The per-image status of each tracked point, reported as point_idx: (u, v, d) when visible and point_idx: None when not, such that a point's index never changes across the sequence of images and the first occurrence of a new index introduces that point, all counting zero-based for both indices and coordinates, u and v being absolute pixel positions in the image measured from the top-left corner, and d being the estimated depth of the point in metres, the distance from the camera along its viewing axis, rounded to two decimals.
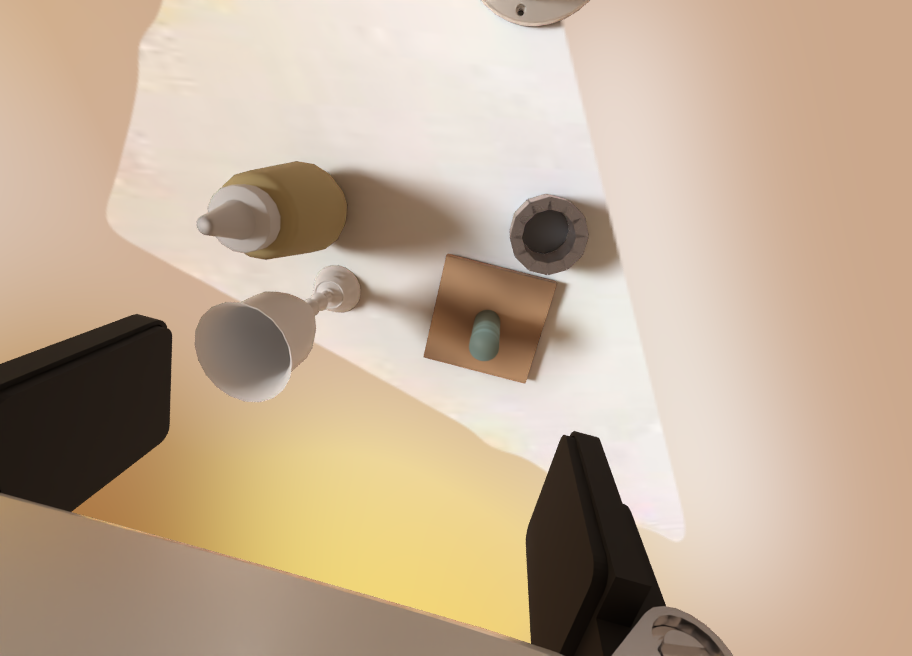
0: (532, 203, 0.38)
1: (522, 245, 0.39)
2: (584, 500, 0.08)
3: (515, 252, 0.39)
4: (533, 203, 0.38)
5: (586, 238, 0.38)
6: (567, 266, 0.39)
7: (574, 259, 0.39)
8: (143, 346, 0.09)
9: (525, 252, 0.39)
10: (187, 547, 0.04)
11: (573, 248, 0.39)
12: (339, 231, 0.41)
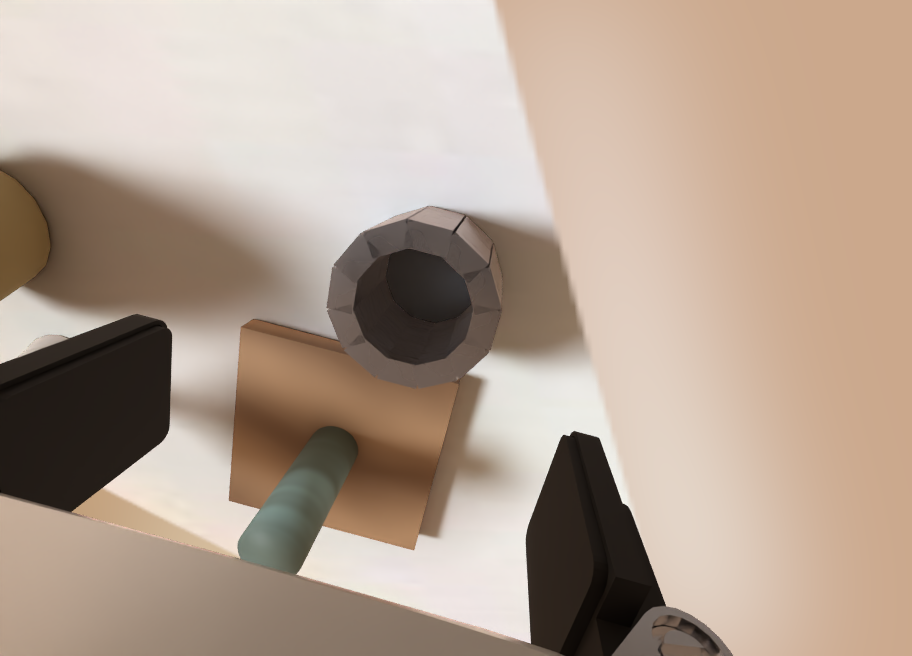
0: (367, 234, 0.16)
1: (356, 326, 0.17)
2: (584, 500, 0.08)
3: (343, 340, 0.18)
4: (369, 234, 0.16)
5: (496, 314, 0.17)
6: (458, 373, 0.18)
7: (472, 359, 0.17)
8: (143, 346, 0.09)
9: (364, 341, 0.18)
10: (187, 547, 0.04)
11: (469, 335, 0.17)
12: None
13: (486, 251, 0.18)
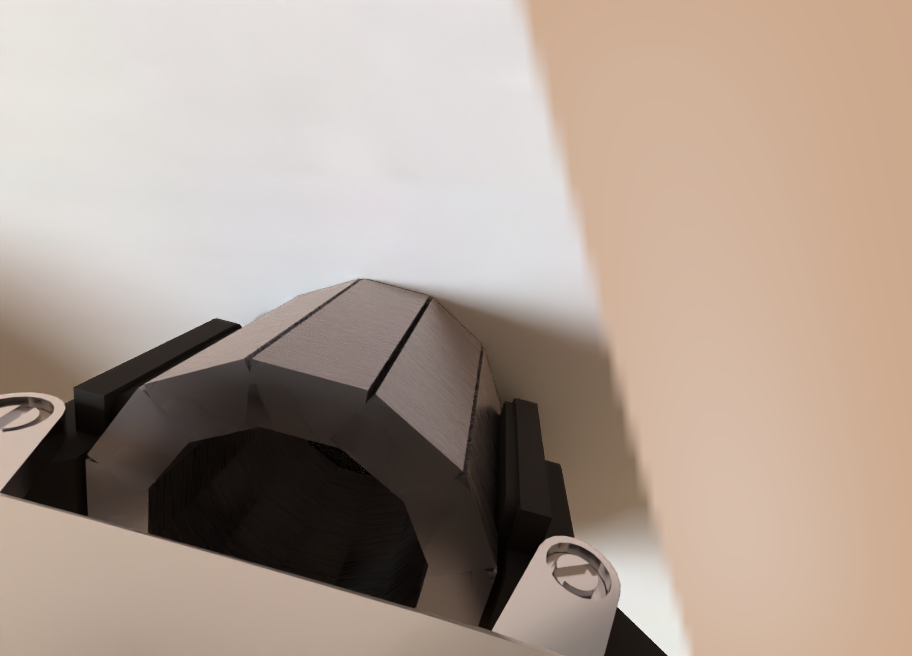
0: (155, 390, 0.06)
1: None
2: (510, 452, 0.09)
3: None
4: (161, 391, 0.06)
5: (485, 579, 0.07)
6: None
7: None
8: None
9: None
10: (187, 547, 0.04)
11: None
12: None
13: (463, 402, 0.08)
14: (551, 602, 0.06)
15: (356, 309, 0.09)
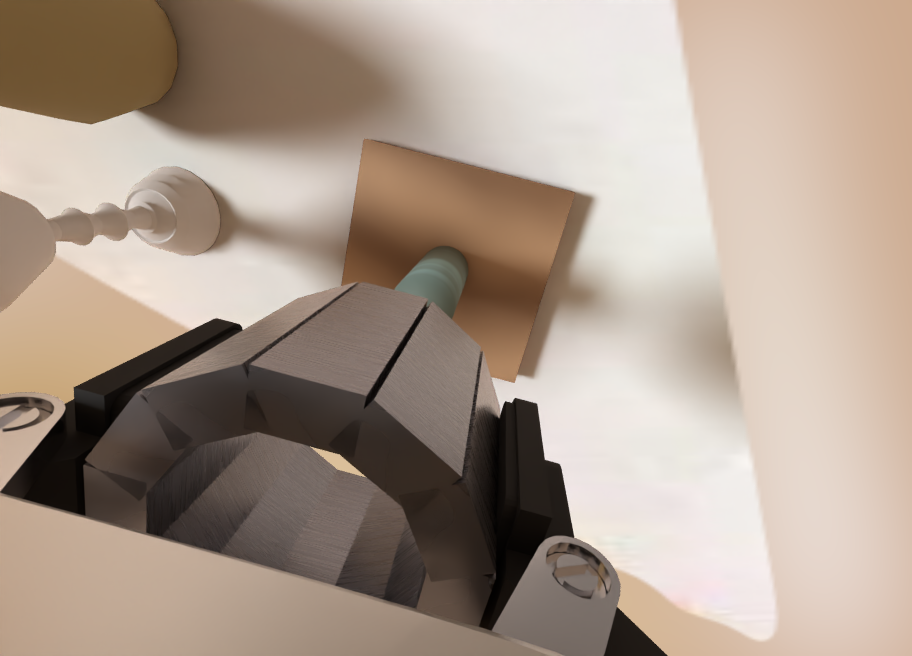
0: (153, 396, 0.06)
1: None
2: (509, 452, 0.09)
3: None
4: (158, 396, 0.06)
5: (484, 584, 0.07)
6: None
7: None
8: None
9: None
10: (187, 547, 0.04)
11: None
12: (135, 73, 0.20)
13: (462, 407, 0.08)
14: (551, 602, 0.06)
15: (355, 313, 0.09)
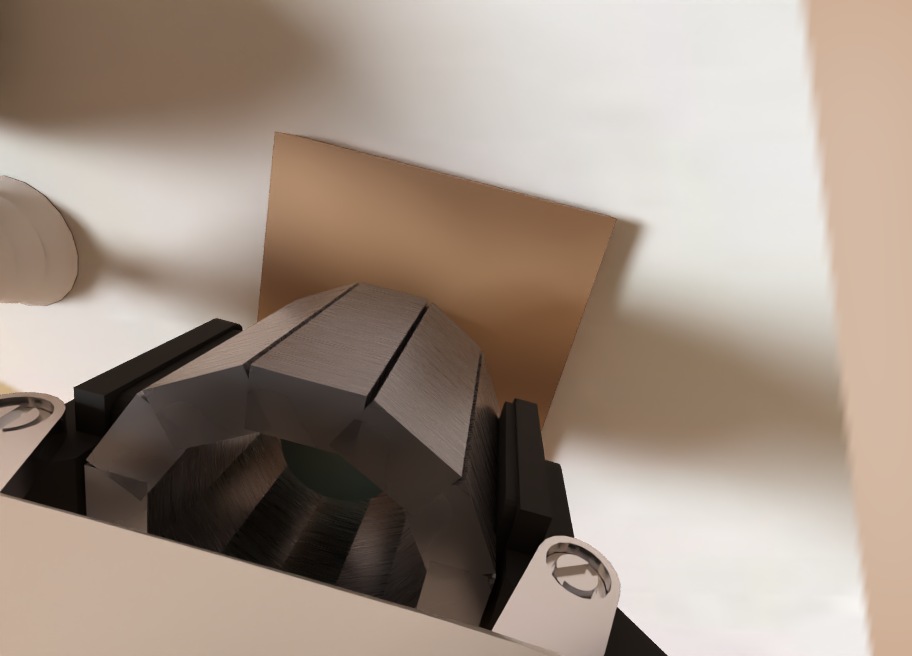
0: (154, 396, 0.06)
1: None
2: (509, 452, 0.09)
3: None
4: (159, 397, 0.06)
5: (484, 584, 0.07)
6: None
7: None
8: None
9: None
10: (187, 547, 0.04)
11: None
12: None
13: (462, 407, 0.08)
14: (551, 602, 0.06)
15: (355, 313, 0.09)
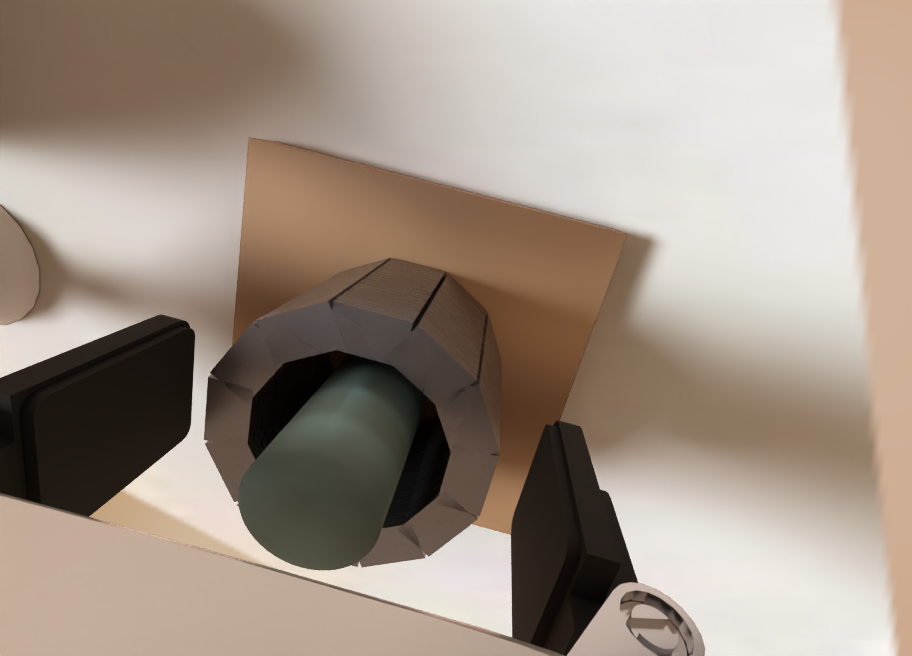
0: (264, 324, 0.09)
1: None
2: (562, 484, 0.08)
3: (234, 490, 0.11)
4: (268, 325, 0.09)
5: (491, 461, 0.10)
6: (427, 547, 0.10)
7: (449, 527, 0.10)
8: (168, 346, 0.10)
9: None
10: (187, 547, 0.04)
11: (444, 491, 0.10)
12: None
13: (475, 343, 0.11)
14: (623, 654, 0.05)
15: (393, 277, 0.12)
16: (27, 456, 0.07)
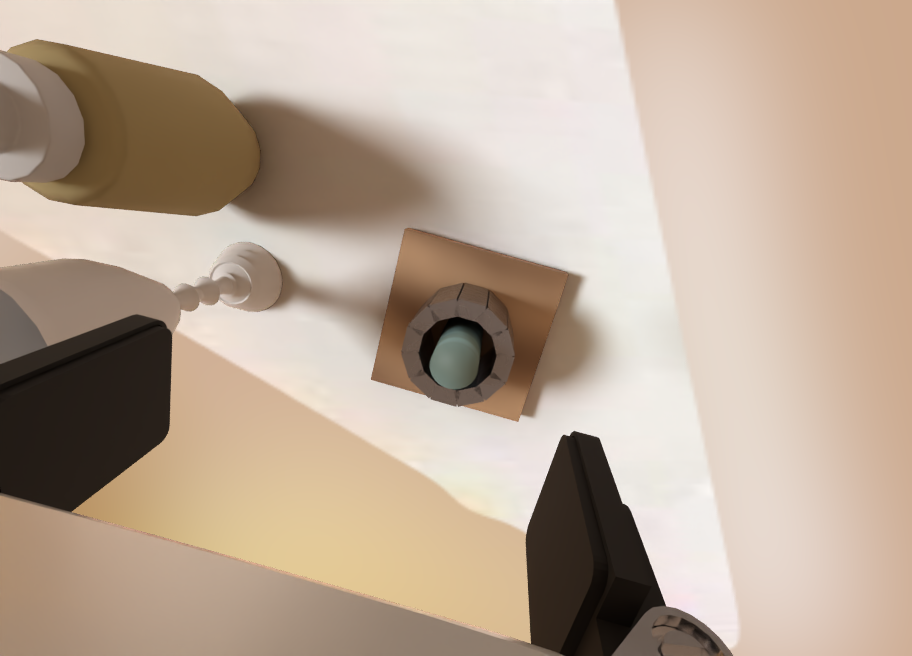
0: (432, 306, 0.26)
1: (419, 364, 0.27)
2: (584, 500, 0.08)
3: (409, 373, 0.27)
4: (433, 307, 0.26)
5: (511, 359, 0.26)
6: (485, 396, 0.27)
7: (494, 387, 0.27)
8: (143, 346, 0.09)
9: (424, 374, 0.27)
10: (187, 547, 0.04)
11: (493, 372, 0.26)
12: (237, 182, 0.27)
13: (504, 317, 0.27)
14: None
15: (470, 291, 0.28)
16: None
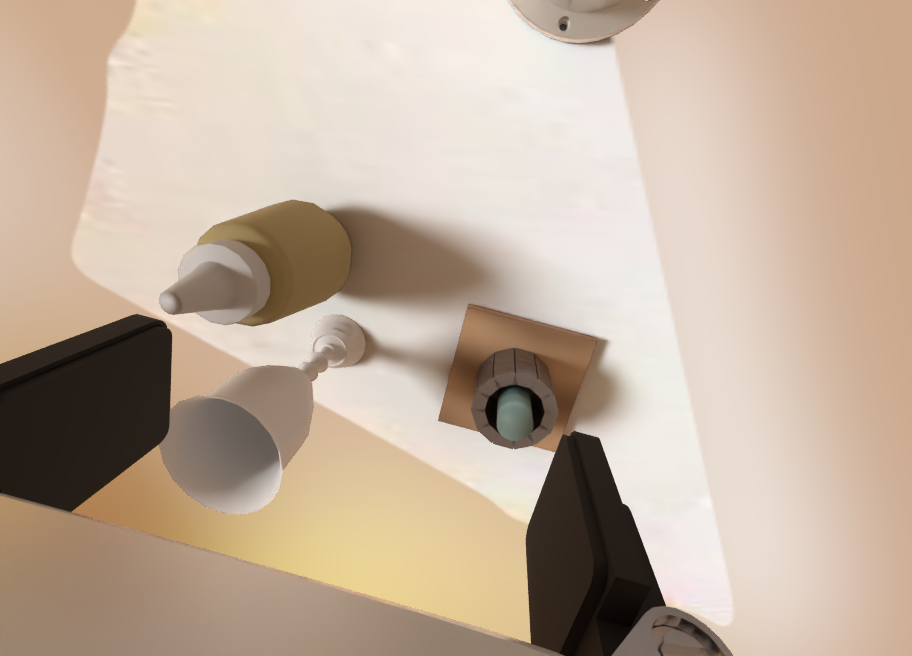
0: (495, 377, 0.34)
1: (485, 418, 0.35)
2: (584, 500, 0.08)
3: (477, 425, 0.35)
4: (496, 377, 0.34)
5: (556, 415, 0.34)
6: (535, 441, 0.35)
7: (542, 435, 0.35)
8: (143, 346, 0.09)
9: (488, 425, 0.35)
10: (187, 547, 0.04)
11: (541, 424, 0.35)
12: (342, 281, 0.35)
13: (549, 380, 0.35)
14: None
15: (521, 358, 0.36)
16: None
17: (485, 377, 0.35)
